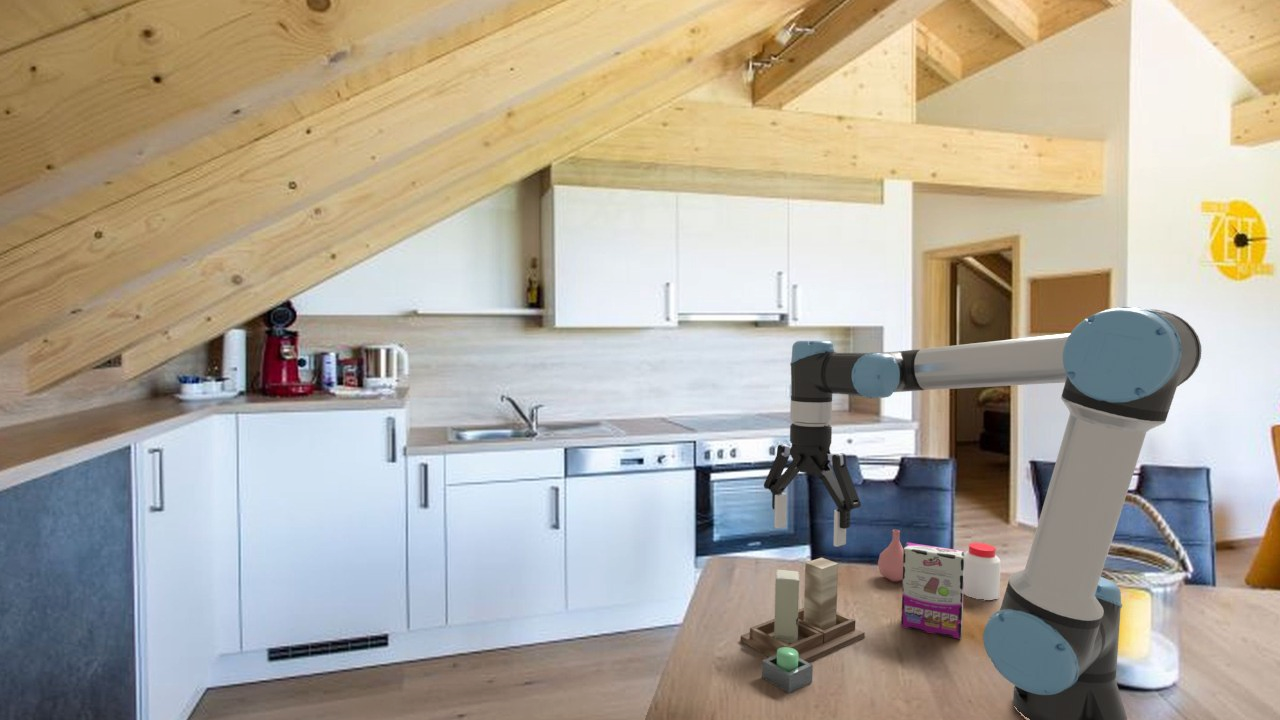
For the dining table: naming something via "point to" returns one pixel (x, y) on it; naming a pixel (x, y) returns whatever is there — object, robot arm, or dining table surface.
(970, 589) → the pill bottle
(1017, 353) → the robot arm
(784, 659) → the button
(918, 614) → the candy bar box
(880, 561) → the perfume bottle
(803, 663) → the grey square tray
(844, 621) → the tray
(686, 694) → the dining table surface
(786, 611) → the box
